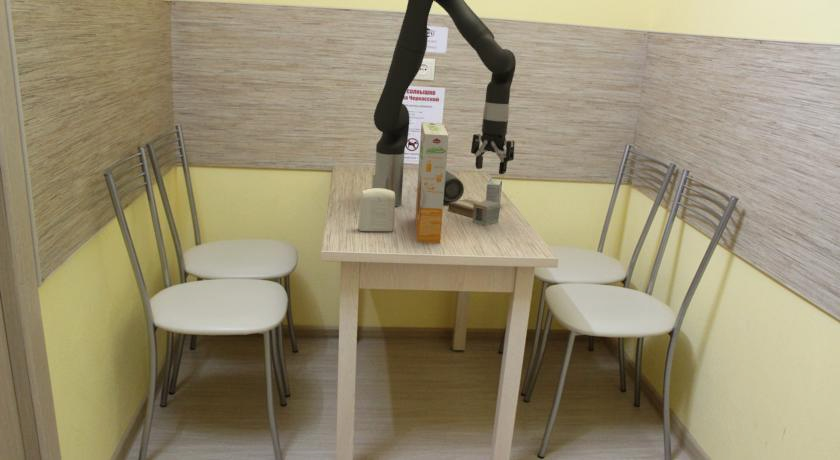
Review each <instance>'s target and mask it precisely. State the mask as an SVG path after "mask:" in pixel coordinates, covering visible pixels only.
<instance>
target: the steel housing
mask: <svg viewBox="0 0 840 460" xmlns="http://www.w3.org/2000/svg"><path fill="white" fill-rule="evenodd" d="M500 208H501V203H500V204H499V203H496V202H492V201H488V200H486V199H485V200H483V201H482V200H481V202H478V203H474V207H473V218H472V217H471V218H472V220H471V222H472V223H474V224H478V225H482V226H484V227H486V226H489V225H492V224H497V223H499V220H500V212H501V211H500V210H501V209H500Z"/></svg>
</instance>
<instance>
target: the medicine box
mask: <svg viewBox="0 0 840 460" xmlns="http://www.w3.org/2000/svg"><path fill="white" fill-rule="evenodd" d="M486 185H487V186H486V193H485V201H486V200H488V201H492V202H496V203H499V204H500V205H501V197H502V187H503V180H502V179H496V178H495V179H492V178H491V179H489V180H488V183H486Z"/></svg>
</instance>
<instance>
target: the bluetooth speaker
mask: <svg viewBox="0 0 840 460" xmlns="http://www.w3.org/2000/svg"><path fill="white" fill-rule="evenodd" d="M464 187H465V186H464V184H463V182H462V181H461V180H460V179H459V178H458V177H457V176H455V175H454V174H453V173H451V172H449V171H448V170H446V174H445V187H444V200H443V202H445V201H446V202H448V203H451V202H456V201H460V200H461V198H462V197H463V195H464V193H465V188H464Z"/></svg>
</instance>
